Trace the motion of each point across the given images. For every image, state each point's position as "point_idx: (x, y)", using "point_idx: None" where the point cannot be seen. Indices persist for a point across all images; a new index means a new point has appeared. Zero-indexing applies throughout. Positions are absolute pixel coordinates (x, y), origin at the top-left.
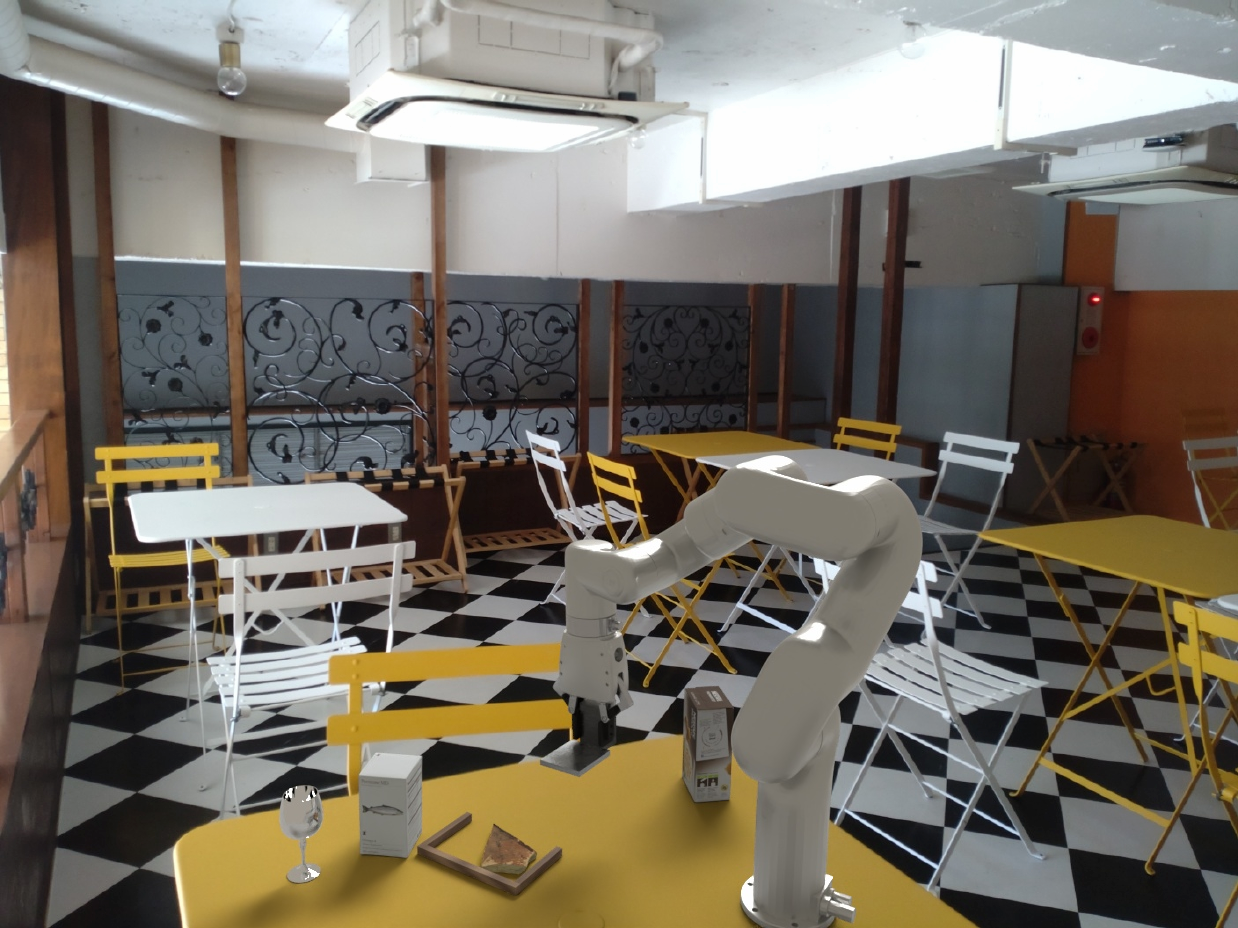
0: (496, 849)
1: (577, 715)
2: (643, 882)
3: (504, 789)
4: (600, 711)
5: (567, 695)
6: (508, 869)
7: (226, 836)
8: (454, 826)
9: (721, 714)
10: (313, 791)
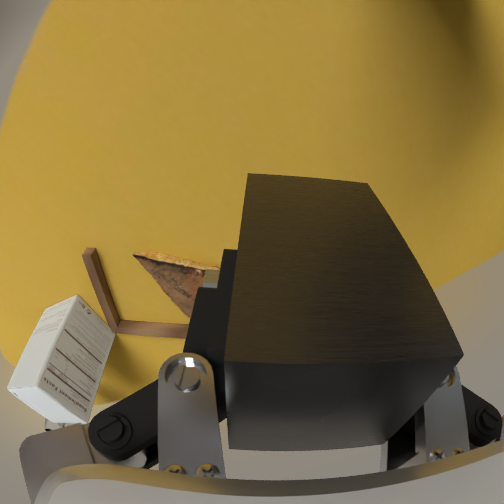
0: (191, 302)
1: None
2: (413, 244)
3: (55, 147)
4: (383, 449)
5: (145, 468)
6: None
7: (8, 352)
8: (102, 287)
9: None
10: (51, 423)
